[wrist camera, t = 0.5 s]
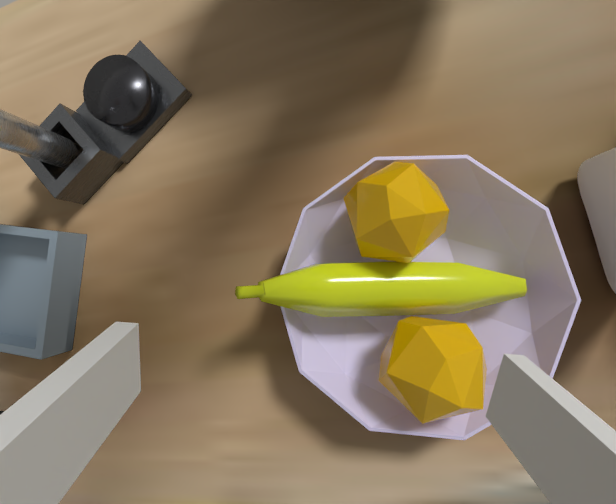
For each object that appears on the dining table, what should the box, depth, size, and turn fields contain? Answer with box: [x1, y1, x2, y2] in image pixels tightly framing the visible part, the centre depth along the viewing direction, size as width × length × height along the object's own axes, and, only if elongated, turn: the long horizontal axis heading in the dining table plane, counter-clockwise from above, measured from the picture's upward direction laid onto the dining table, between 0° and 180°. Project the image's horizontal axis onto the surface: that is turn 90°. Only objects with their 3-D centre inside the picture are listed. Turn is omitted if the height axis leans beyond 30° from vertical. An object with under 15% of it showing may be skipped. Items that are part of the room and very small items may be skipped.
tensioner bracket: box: [19, 41, 192, 204], centre depth 38 cm, size 20×9×4 cm, turn 133°
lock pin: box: [0, 109, 84, 169], centre depth 31 cm, size 5×5×19 cm
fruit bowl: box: [235, 155, 581, 440], centre depth 29 cm, size 28×27×11 cm
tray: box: [0, 224, 87, 359], centre depth 39 cm, size 15×15×4 cm
